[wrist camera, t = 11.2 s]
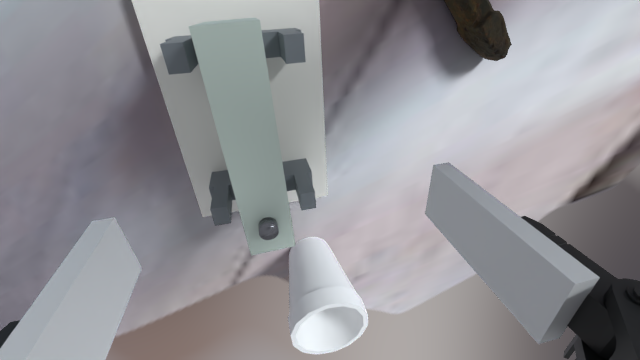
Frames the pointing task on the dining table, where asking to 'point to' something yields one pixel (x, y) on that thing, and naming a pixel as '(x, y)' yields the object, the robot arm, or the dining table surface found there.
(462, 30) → the hand tool
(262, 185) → the tapered bar with knob
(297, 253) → the foam cup
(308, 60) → the clip rack
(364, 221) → the dining table surface
